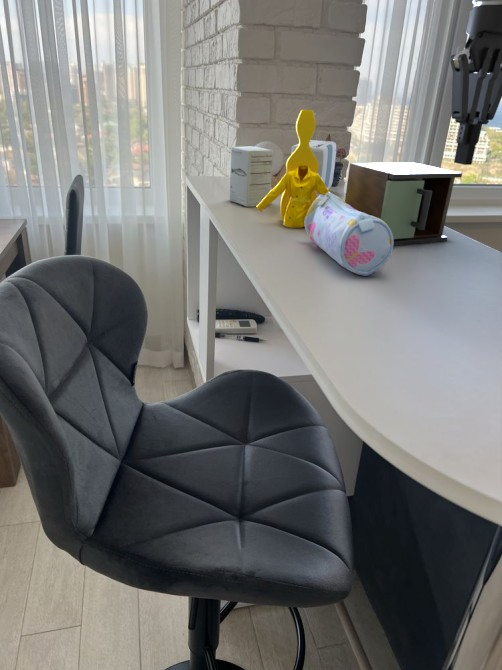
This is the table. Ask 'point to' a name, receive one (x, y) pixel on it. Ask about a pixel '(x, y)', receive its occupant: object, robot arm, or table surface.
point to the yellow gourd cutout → (323, 159)
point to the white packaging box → (250, 174)
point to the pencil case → (349, 234)
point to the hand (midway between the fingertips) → (462, 163)
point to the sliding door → (405, 207)
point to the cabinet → (372, 178)
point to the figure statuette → (298, 177)
